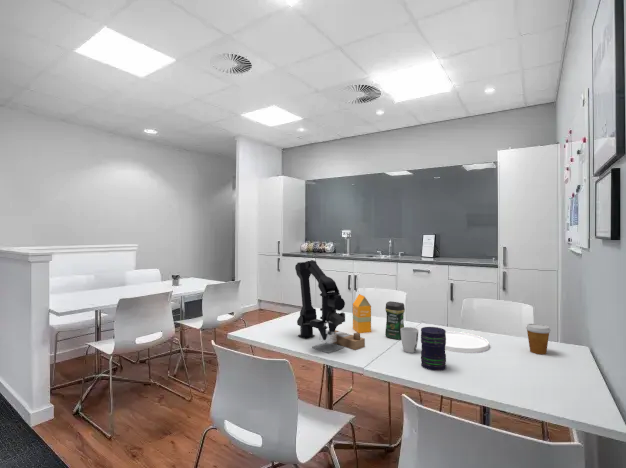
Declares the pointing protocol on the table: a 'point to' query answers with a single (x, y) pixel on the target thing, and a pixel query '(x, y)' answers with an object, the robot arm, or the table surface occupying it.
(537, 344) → the disposable coffee cup
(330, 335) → the lever cap
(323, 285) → the robot arm
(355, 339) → the hand plane
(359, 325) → the orange juice
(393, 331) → the coffee jar
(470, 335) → the plate
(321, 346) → the rubber mat
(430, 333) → the storage jar
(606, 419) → the table surface
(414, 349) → the cup
